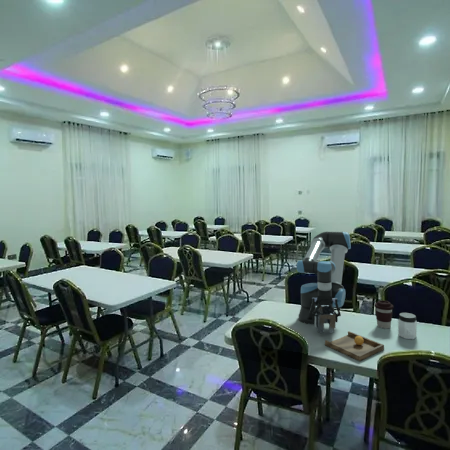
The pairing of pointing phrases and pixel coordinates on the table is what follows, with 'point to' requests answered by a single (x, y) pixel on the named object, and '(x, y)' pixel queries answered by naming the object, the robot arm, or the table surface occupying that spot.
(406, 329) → the jar
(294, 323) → the table surface
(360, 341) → the ball
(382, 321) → the coffee cup
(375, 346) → the tray
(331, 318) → the grey piece
